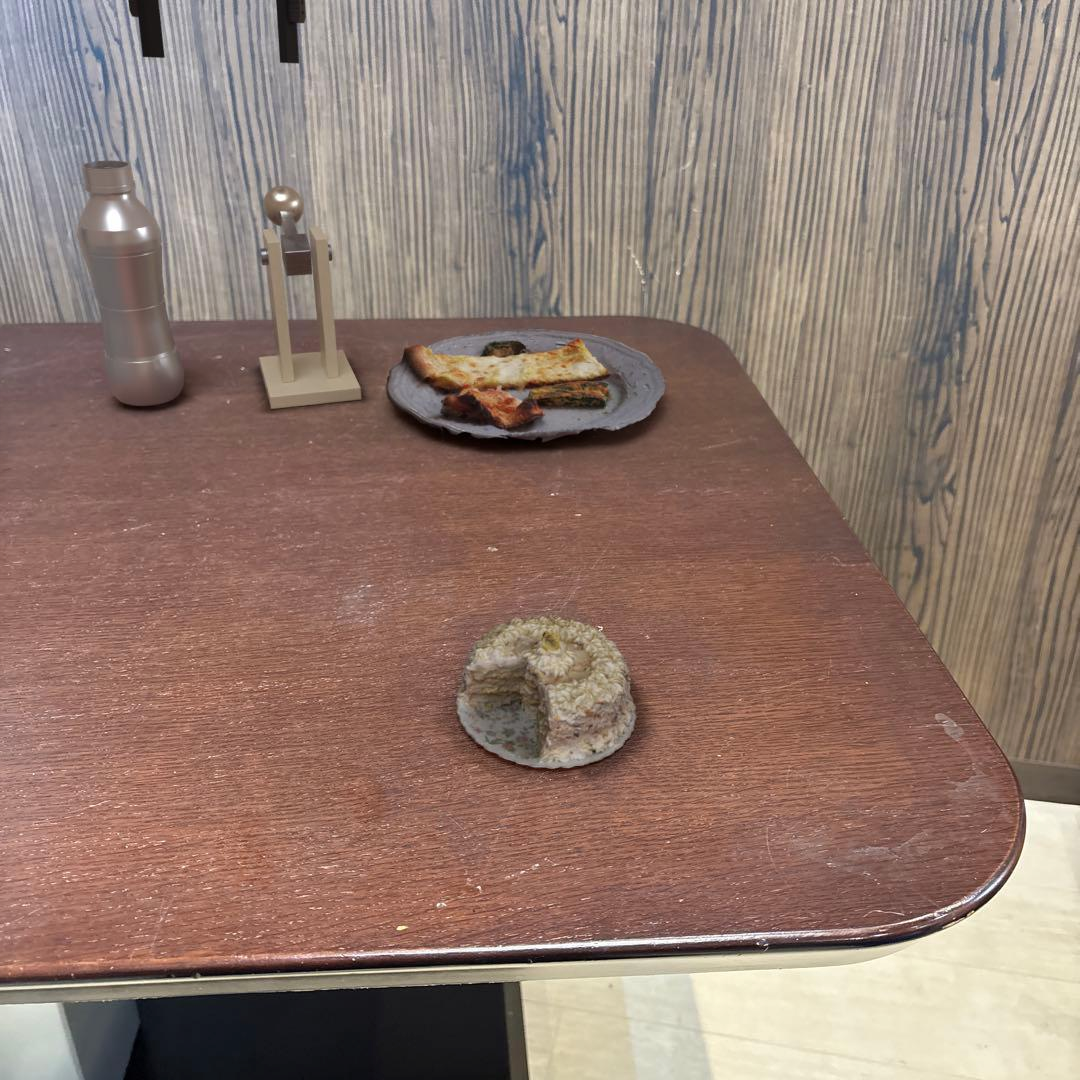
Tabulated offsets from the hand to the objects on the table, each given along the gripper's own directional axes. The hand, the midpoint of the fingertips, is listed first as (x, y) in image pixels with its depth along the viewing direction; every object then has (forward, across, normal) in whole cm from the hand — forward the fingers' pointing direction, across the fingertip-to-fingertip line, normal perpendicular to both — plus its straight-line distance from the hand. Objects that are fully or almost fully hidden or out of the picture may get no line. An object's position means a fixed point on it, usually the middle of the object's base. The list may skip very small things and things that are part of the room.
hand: (221, 60), depth 95 cm
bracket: (+27, -12, +12) cm, 32 cm away
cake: (+32, -41, +52) cm, 74 cm away
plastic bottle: (+28, 0, +18) cm, 33 cm away
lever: (+15, -10, +9) cm, 20 cm away
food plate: (+27, -32, +10) cm, 43 cm away
